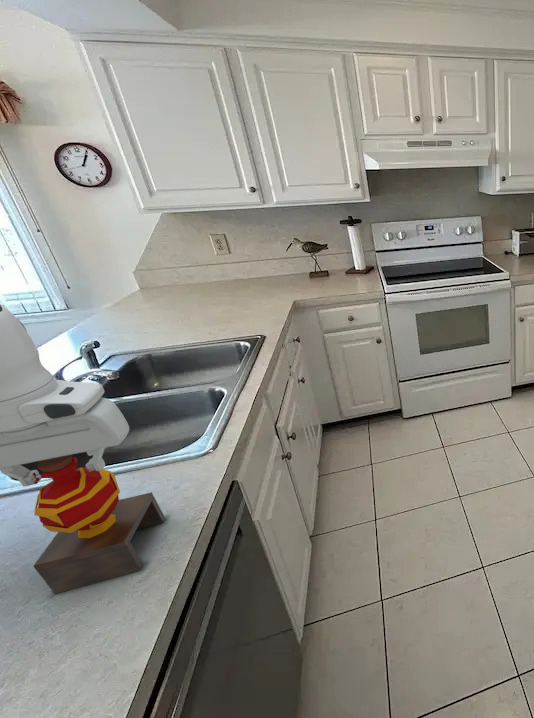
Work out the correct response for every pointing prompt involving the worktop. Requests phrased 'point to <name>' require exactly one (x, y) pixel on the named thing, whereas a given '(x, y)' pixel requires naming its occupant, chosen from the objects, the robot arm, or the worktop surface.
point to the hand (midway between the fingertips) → (66, 475)
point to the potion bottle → (76, 498)
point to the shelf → (99, 548)
